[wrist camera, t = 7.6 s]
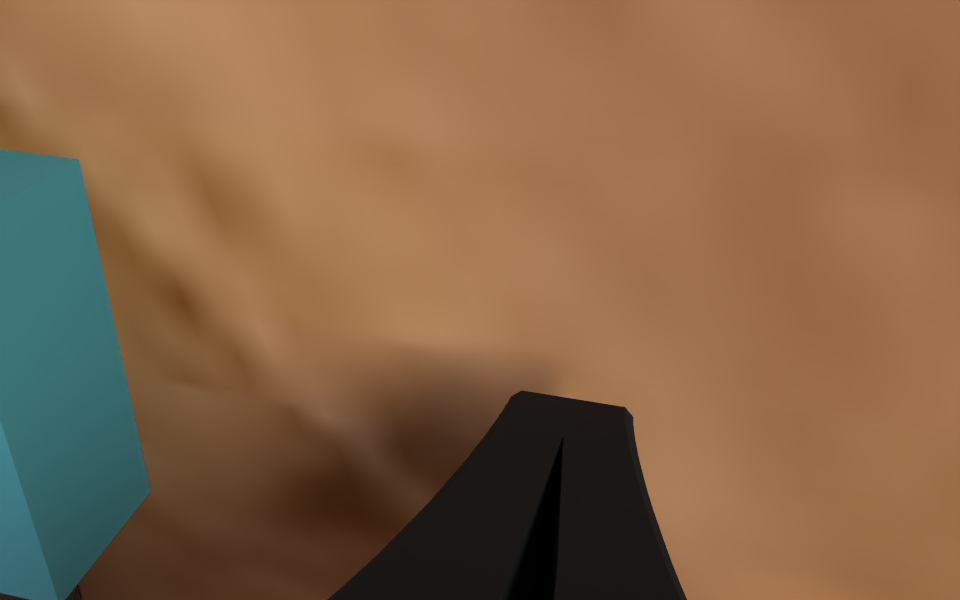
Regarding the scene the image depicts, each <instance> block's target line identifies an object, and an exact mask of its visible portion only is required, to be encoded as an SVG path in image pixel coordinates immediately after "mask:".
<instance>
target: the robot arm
mask: <svg viewBox="0 0 960 600" xmlns="http://www.w3.org/2000/svg"><path fill="white" fill-rule="evenodd" d="M327 600H687V599H686V596H685V594H684V592H683V589H682V587H681V585H680V582H679V580H678V577H677V575H676V572H675V570H674V567H673V564H672V562H671V559H670V557H669V554H668V551H667V548H666V545H665V543H664V540H663V537H662V534H661V531H660V528H659V525H658V523H657V520H656V517H655V514H654V511H653V508H652V505H651V501H650V498H649V495H648V492H647V488H646V484H645V481H644V477H643V473H642V469H641V466H640V461H639V457H638V452H637V447H636V442H635V435H634V427H633V417H632V415H631V414H630V413H629V412H628V410H627V409H626V408H625V407H620V406H614V405H608V404H601V403H595V402H589V401H583V400H577V399H570V398H564V397H558V396H552V395H546V394H539V393H533V392H527V391H520V392H518V393H517V394H515V395H513V396H512V397H511V398H510V400H509V401H508V403H507V405H506V406H505V408H504V410H503V411H502V413H501V414H500V415H499V417H498V418H497V420H496V421H495V423H494V424H493V426H492V427H491V428H490V430H489V431H488V432H487V434H486V435H485V436H484V438H483V439H482V440H481V442H480V443H479V444H478V445H477V447H476V448H475V449H474V450H473V452H472V453H471V454H470V456H469V457H468V458H467V459H466V460H465V462H464V463H463V464H462V465H461V466H460V467H459V469H458V470H457V471H456V472H455V473H454V474H453V476H452V477H451V478H450V479H449V480H448V481H447V482H446V484H445V485H444V486H443V487H442V488H441V489H440V491H439V492H438V493H437V494H436V495H435V496H434V497H433V499H432V500H431V501H430V502H429V503H428V504H427V505H426V506H425V507H424V508H423V509H422V510H421V511H420V512H419V513H418V514H417V515H416V517H415V518H414V519H413V520H412V521H411V522H410V523H409V524H408V525H407V526H406V527H405V528H404V529H403V530H402V531H401V532H400V533H399V534H398V535H397V536H396V537H395V538H394V539H393V540H392V541H391V542H390V543H389V544H388V545H387V546H386V547H385V548H384V549H383V550H382V551H381V552H380V553H379V554H378V555H377V556H376V557H375V558H374V559H372V560H371V561H370V562H369V563H368V564H367V565H366V566H365V567H364V568H363V569H362V570H361V571H359V572H358V573H357V574H356V575H355V576H354V577H353V578H352V579H351V580H349V581H348V582H347V583H346V584H345V585H344V586H343V587H342V588H340V589H339V590H338V591H337V592H336V593H335V594H333V595H332V596H331V597H330V598H329V599H327Z"/></svg>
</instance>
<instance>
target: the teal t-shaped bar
mask: <svg viewBox="0 0 960 600" xmlns="http://www.w3.org/2000/svg"><path fill="white" fill-rule="evenodd" d="M149 493H150V487H149V482H148V478H147V473H146V468H145V464H144V459H143V455H142V450H141V445H140V441H139V436H138V431H137V427H136V422H135V418H134V413H133V408H132V404H131V399H130V394H129V390H128V385H127V380H126V376H125V371H124V367H123V362H122V357H121V353H120V348H119V343H118V339H117V334H116V329H115V325H114V320H113V316H112V311H111V306H110V302H109V297H108V292H107V288H106V283H105V279H104V274H103V269H102V265H101V260H100V255H99V251H98V246H97V241H96V237H95V232H94V228H93V223H92V218H91V214H90V209H89V204H88V200H87V195H86V190H85V186H84V181H83V177H82V172H81V167H80V163H79V160H77V159H69V158H61V157H53V156H45V155H37V154H30V153H22V152H14V151H6V150H0V593H3V594H7V595H12V596H16V597H21V598H25V599H30V600H65V599H66V598H67V597H68V596H69V594H70V593H71V592H72V591H73V589H74V588H75V587H76V585H77V584H78V583H79V582H80V580H81V579H82V578H83V577H84V575H85V574H86V573H87V572H88V570H89V569H90V568H91V567H92V565H93V564H94V563H95V561H96V560H97V559H98V558H99V556H100V555H101V554H102V553H103V551H104V550H105V549H106V548H107V546H108V545H109V544H110V542H111V541H112V540H113V539H114V537H115V536H116V535H117V534H118V532H119V531H120V530H121V529H122V527H123V526H124V525H125V524H126V522H127V521H128V520H129V518H130V517H131V516H132V515H133V513H134V512H135V511H136V510H137V508H138V507H139V506H140V505H141V503H142V502H143V501H144V499H145V498H146V497H147V496H148V494H149Z"/></svg>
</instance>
